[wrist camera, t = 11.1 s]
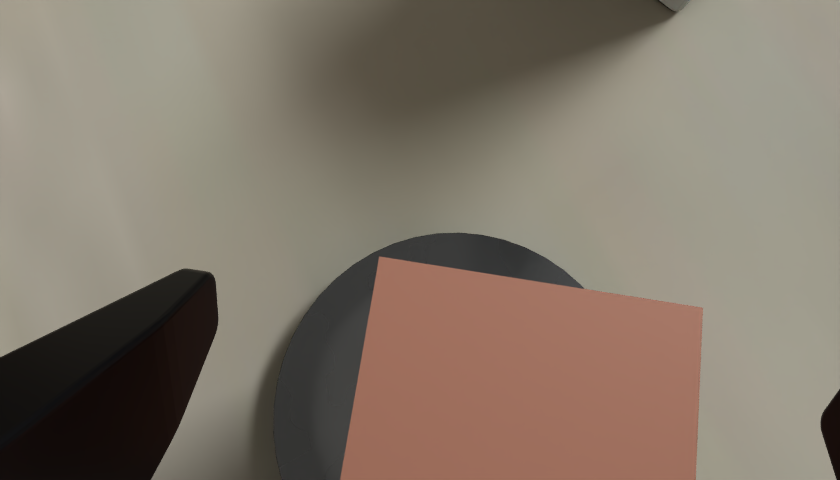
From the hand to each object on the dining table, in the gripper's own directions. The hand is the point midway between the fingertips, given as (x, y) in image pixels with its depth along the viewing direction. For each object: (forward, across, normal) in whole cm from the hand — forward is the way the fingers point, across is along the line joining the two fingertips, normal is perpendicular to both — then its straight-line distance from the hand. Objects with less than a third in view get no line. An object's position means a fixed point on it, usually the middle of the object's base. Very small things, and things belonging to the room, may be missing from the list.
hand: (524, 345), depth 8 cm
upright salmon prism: (+5, 0, +7) cm, 8 cm away
